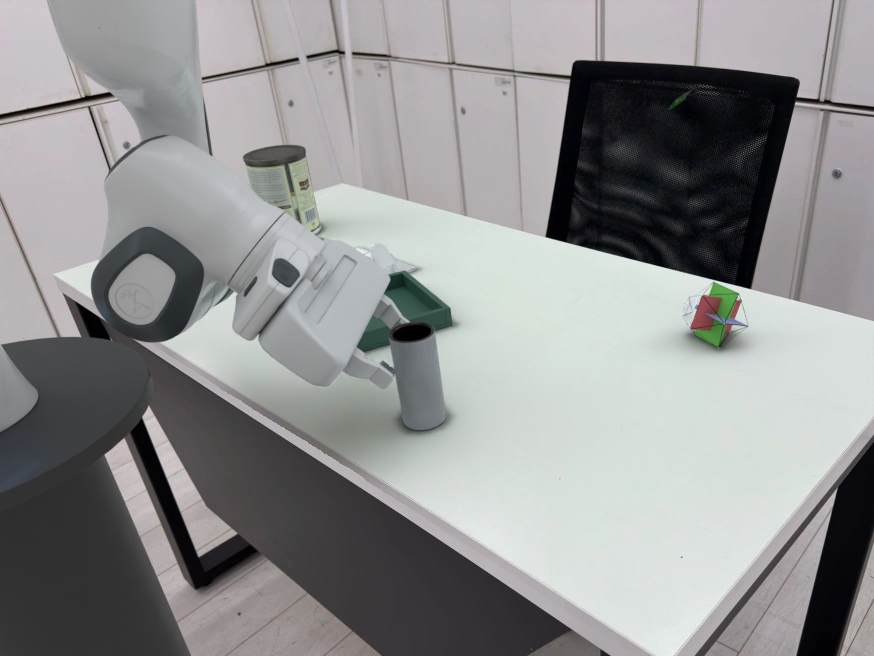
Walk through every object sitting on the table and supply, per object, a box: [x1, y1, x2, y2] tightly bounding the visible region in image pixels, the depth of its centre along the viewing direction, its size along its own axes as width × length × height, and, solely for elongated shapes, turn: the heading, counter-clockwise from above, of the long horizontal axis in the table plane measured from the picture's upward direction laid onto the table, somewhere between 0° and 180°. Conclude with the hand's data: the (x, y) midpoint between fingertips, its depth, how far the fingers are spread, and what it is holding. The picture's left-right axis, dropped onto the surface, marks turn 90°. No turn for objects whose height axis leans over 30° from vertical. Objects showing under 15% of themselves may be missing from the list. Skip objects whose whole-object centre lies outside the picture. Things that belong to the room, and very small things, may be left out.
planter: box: [389, 322, 447, 431], centre depth 75 cm, size 4×4×10 cm
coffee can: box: [242, 144, 322, 235], centre depth 129 cm, size 10×10×14 cm
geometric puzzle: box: [682, 280, 750, 349], centre depth 87 cm, size 7×7×8 cm
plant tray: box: [356, 270, 453, 353], centre depth 99 cm, size 16×16×2 cm
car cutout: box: [354, 242, 418, 275], centre depth 115 cm, size 15×7×4 cm, turn 46°
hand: (400, 356), depth 74 cm, fingers open, 8 cm apart
